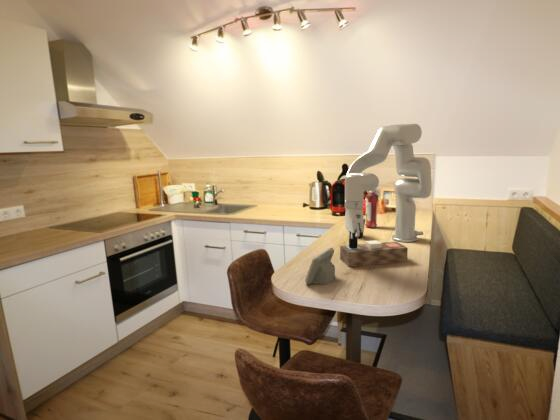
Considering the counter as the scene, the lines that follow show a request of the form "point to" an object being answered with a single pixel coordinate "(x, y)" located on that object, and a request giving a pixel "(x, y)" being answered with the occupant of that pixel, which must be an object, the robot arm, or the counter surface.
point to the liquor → (371, 209)
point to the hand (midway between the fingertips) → (353, 247)
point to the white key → (373, 244)
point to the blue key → (352, 248)
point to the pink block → (392, 245)
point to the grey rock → (321, 268)
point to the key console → (373, 255)
